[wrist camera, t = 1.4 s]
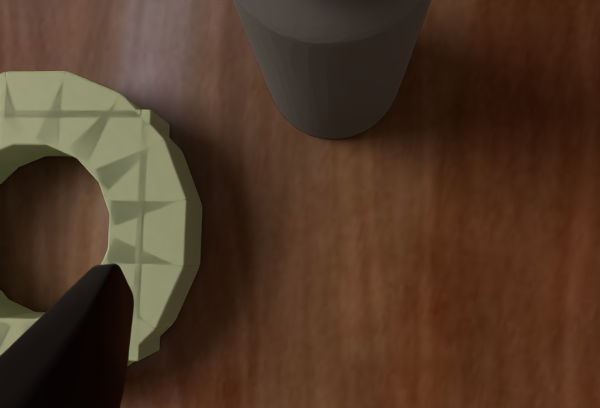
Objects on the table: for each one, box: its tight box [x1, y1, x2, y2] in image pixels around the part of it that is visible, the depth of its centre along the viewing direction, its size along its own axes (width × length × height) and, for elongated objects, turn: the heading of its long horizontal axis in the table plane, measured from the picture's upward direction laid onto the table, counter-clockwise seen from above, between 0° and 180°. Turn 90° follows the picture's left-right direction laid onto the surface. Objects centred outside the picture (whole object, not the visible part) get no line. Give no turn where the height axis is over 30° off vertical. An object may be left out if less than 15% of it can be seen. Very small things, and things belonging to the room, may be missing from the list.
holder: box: [0, 71, 202, 366], centre depth 23 cm, size 13×13×2 cm
